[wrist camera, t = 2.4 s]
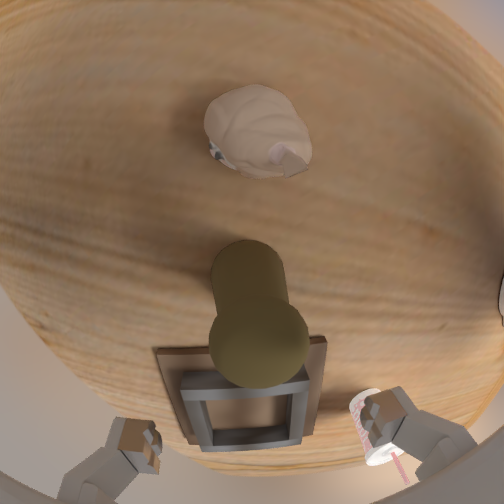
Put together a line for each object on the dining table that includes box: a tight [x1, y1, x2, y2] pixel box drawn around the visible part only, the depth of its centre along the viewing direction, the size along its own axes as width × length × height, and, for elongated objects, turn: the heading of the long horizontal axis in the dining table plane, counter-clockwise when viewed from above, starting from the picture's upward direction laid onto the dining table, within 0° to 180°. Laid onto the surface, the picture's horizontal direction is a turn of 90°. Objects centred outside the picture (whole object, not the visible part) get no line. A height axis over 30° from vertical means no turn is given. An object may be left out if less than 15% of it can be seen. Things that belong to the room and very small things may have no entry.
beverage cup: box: [349, 388, 409, 485], centre depth 22 cm, size 6×6×14 cm
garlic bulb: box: [204, 84, 312, 179], centre depth 15 cm, size 7×6×8 cm
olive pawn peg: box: [209, 240, 310, 389], centre depth 17 cm, size 6×6×11 cm
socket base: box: [156, 336, 327, 452], centre depth 25 cm, size 16×16×4 cm
